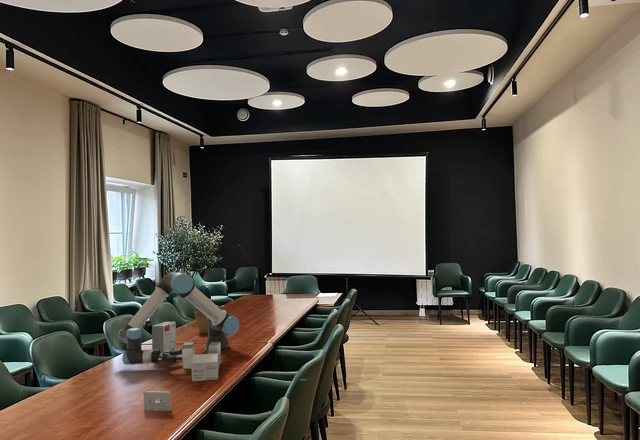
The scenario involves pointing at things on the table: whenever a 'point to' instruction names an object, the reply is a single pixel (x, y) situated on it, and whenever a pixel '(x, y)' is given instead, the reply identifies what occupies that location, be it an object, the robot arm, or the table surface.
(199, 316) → the plant pot
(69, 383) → the table surface
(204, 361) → the supplement box
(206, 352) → the plate
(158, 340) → the hard drive box
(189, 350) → the white and grey box
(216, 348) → the grey boxy device
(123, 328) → the robot arm
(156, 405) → the cassette
